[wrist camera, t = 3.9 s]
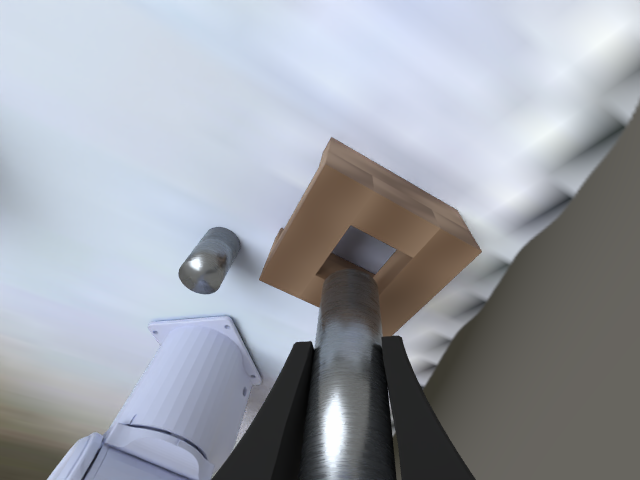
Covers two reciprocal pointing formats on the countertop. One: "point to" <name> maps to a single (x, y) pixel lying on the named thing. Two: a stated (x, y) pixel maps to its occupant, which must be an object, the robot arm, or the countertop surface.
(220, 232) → the short pin
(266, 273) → the hole bridge
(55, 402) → the countertop surface
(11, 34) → the countertop surface
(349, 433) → the tall pin
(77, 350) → the countertop surface
